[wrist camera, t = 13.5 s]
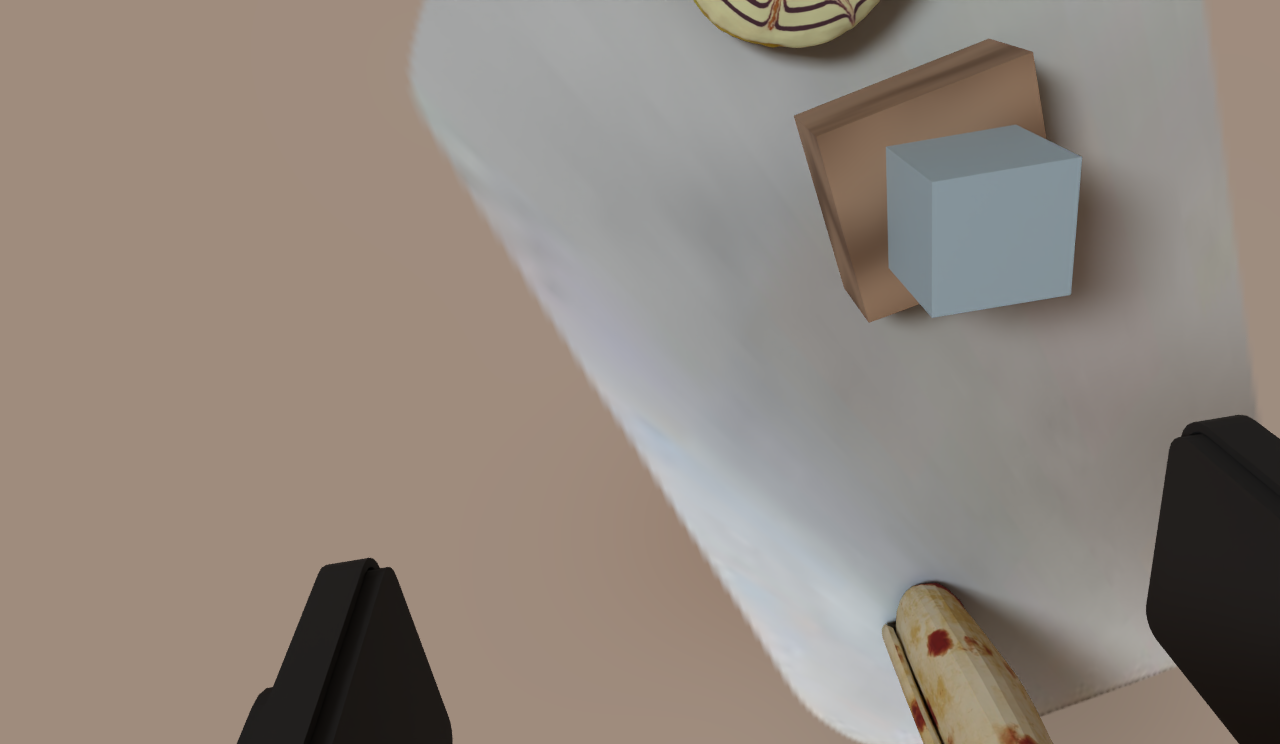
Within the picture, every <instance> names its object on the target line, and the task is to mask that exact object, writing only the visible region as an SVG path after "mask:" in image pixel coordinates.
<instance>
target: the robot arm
mask: <svg viewBox="0 0 1280 744" xmlns="http://www.w3.org/2000/svg"><path fill="white" fill-rule="evenodd" d="M1146 615H1147V620H1148V623H1149V627H1150V629H1151V631H1152V633H1153V635H1154V637H1155V638H1156V640H1157V641H1158V642H1159V644H1160V645H1161V646H1162V647H1163V649H1164V650H1165V651H1166V652H1167V654H1168V655H1169V656H1170V657H1171V659H1172V660H1173V661H1174V662H1175V664H1176V665H1177V666H1178V667H1179V669H1180V670H1181V671H1182V672H1183V674H1184V675H1185V676H1186V677H1187V679H1188V680H1189V681H1190V682H1191V683H1192V685H1193V686H1194V688H1195V689H1196V690H1197V691H1198V693H1199V694H1200V695H1201V696H1202V698H1203V699H1204V700H1205V701H1206V703H1207V704H1208V705H1209V706H1210V708H1211V709H1212V710H1213V711H1214V713H1215V714H1216V715H1217V716H1218V718H1219V719H1220V720H1221V721H1222V723H1223V724H1224V725H1225V727H1226V728H1227V729H1228V730H1229V732H1230V733H1231V734H1232V735H1233V737H1234V738H1235V739H1236V740H1237V742H1238V743H1239V744H1280V439H1279V438H1278V437H1276V436H1275V435H1274V434H1272V433H1271V432H1270V431H1268V430H1267V429H1266V428H1264V427H1263V426H1262V425H1260V424H1259V423H1258V422H1256V421H1255V420H1253V419H1252V418H1250V417H1248V416H1244V415H1235V416H1229V417H1223V418H1217V419H1211V420H1205V421H1199V422H1193V423H1191V424H1189V425H1187V426H1186V428H1185V429H1184V430H1183V433H1182V436H1181V437H1178V438H1176V439H1174V440H1173V442H1172V443H1171V446H1170V449H1169V455H1168V462H1167V469H1166V475H1165V482H1164V489H1163V496H1162V503H1161V509H1160V516H1159V523H1158V530H1157V536H1156V543H1155V550H1154V557H1153V564H1152V570H1151V577H1150V584H1149V591H1148V597H1147V604H1146ZM237 744H452V729H451V724H450V720H449V717H448V714H447V711H446V709H445V706H444V703H443V701H442V698H441V695H440V693H439V690H438V687H437V684H436V682H435V679H434V677H433V674H432V671H431V668H430V666H429V663H428V660H427V657H426V655H425V652H424V649H423V647H422V644H421V641H420V639H419V636H418V633H417V631H416V628H415V625H414V622H413V620H412V617H411V614H410V612H409V609H408V606H407V604H406V601H405V598H404V596H403V593H402V590H401V588H400V585H399V582H398V579H397V577H396V575H395V572H394V571H393V569H392V568H390V567H386V568H379V566H378V563H377V562H376V561H375V560H374V559H372V558H366V559H360V560H354V561H347V562H341V563H335V564H329V565H325V566H324V567H322V568H321V570H320V572H319V574H318V576H317V578H316V581H315V583H314V586H313V588H312V591H311V593H310V596H309V598H308V601H307V603H306V606H305V608H304V611H303V613H302V616H301V619H300V621H299V623H298V626H297V628H296V631H295V633H294V636H293V638H292V641H291V643H290V646H289V648H288V651H287V653H286V656H285V658H284V661H283V663H282V666H281V668H280V671H279V674H278V676H277V679H276V681H275V683H274V686H273V687H271V688H266V689H265V690H264V691H263V692H262V693H261V694H259V696H258V697H257V699H256V701H255V703H254V705H253V706H252V708H251V711H250V713H249V716H248V718H247V720H246V723H245V725H244V728H243V730H242V733H241V735H240V737H239V740H238V742H237Z"/></svg>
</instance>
